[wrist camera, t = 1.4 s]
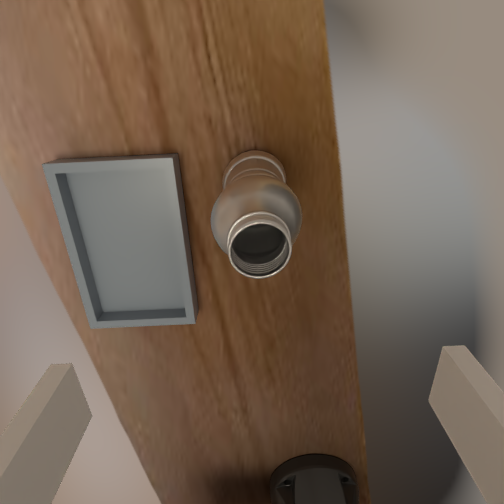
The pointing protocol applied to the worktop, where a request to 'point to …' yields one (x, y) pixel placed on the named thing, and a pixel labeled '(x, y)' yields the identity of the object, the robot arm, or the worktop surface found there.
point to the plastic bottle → (256, 215)
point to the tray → (126, 238)
